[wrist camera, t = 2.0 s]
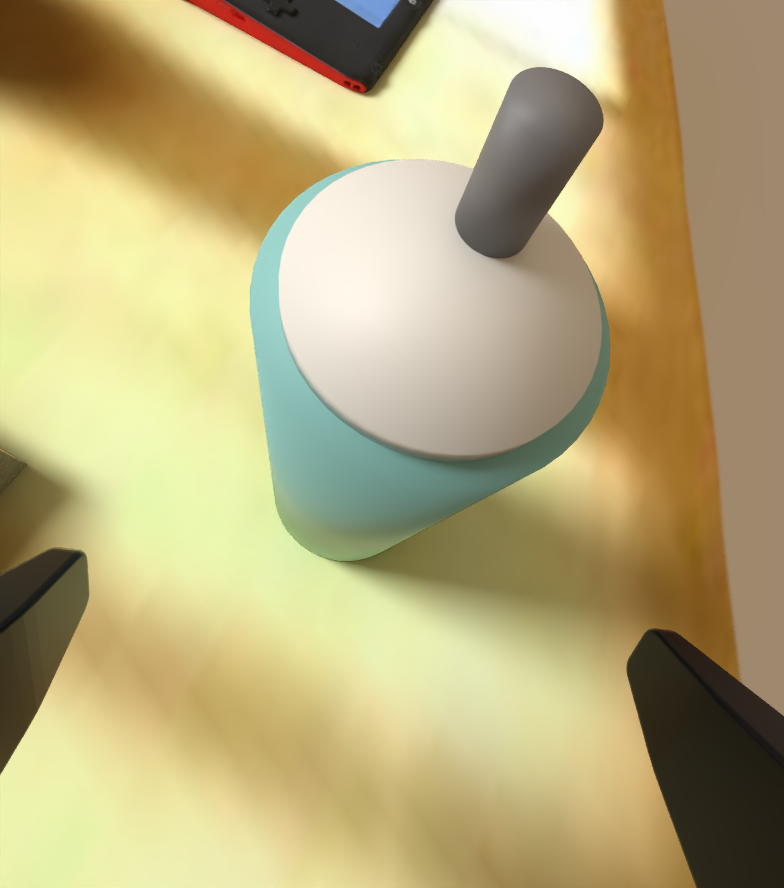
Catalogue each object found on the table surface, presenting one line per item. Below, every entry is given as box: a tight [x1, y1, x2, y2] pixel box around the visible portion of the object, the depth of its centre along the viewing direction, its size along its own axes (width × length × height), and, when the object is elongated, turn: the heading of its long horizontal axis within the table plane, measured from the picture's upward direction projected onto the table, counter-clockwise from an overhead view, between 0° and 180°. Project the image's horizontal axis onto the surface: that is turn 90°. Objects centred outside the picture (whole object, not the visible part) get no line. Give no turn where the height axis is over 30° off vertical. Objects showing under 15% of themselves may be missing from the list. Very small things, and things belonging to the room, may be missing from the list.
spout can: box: [250, 67, 610, 561], centre depth 13 cm, size 6×6×15 cm
